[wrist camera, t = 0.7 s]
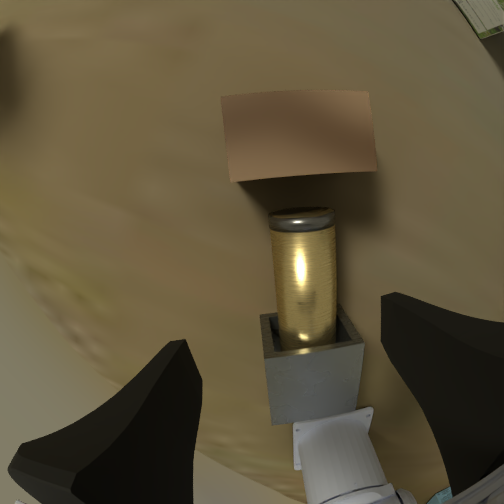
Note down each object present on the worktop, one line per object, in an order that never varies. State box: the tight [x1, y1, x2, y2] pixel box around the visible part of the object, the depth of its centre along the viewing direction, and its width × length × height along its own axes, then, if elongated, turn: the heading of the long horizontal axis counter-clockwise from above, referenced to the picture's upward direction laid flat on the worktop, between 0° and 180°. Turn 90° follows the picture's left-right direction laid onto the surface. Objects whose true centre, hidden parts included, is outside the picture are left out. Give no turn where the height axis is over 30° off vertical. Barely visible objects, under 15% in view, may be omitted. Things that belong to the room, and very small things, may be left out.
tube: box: [268, 207, 337, 352], centre depth 17 cm, size 13×4×4 cm, turn 6°
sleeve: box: [260, 304, 365, 425], centre depth 19 cm, size 6×6×5 cm
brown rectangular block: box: [221, 90, 377, 182], centre depth 15 cm, size 4×7×5 cm, turn 96°
